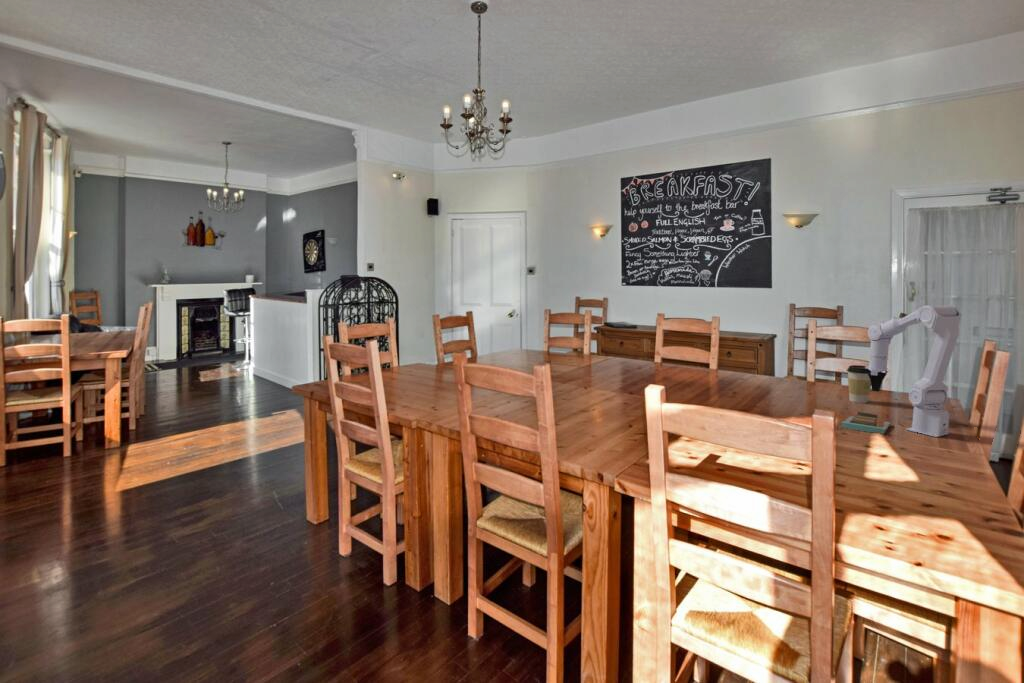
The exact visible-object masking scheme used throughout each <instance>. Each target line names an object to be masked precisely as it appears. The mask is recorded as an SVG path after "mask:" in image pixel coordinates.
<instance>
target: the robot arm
mask: <svg viewBox="0 0 1024 683" xmlns="http://www.w3.org/2000/svg"><path fill="white" fill-rule="evenodd" d="M962 316H963V315H962V314H961V312H960V310H959V309H958V307H957V306H955V305H953V304H947V305H927V304H926V305H923V306H922V307H919V308H917V310H915V311H913V312H912V313H910V314H907V315H906V316H904V317H897V316H894V317H893V316H892V317H890V320H889V319H888V320H887V321H883V322H881V324H879V325H877V324H872V325H871V326H870V327H869V328H868V330H867V337H868V338H869V339H870V349H869V361H868V362H869V363H868V366H867V365H865V366H866V367H865V368H866V369H869V370H870V371H871V372H868V376H869V378H870V381H871V390H872V392H880V390H881V387H882V384H883V381H884V379H885V377H886V376H887V371H888V358H889V346H890V344H891V342H892V339H893V338H894V337H895V336H898V335H899V334H902V333H904V332H906V331H907V330H908V327H910V326H913V325H916V324H919V323H922V324H923V325H924V326H925V327H926V328H928V329H929V330H930V331H931V332H932V333H933V334H935V337H934V338H935V339H934V341H933V345H932V348H931V350H930V354H929V358H928V360H927V363H926V367H925V370H924V373H923V376H922V378H921V379H919V380H917V381H916V382H915V383H914V385H913V387H912V388H911V389H910V391H909V393H908V400H909V402H910V403H911V405H912V406H913V411H912V412H913V414H912V424H911V427H907V428H905V430H906V431H908V430H909V432H913V433H917V432H918V434H921V433H922V435H926V436H931V437H935V438H939V437H943V436H945V435H949V434H950V432H949V425H950V412H949V411H947V410H944V409H942V408H943V407H944V406H943V405H946V403H947V402H948V398H949V397H948V395H949V394H948V390H949V387H948V385H946V384H945V383H944V380H945V376H946V374H947V372H948V371H947V370H948V368H949V365H950V361H951V359H952V356H953V353H954V349H955V346H956V345H957V340H958V338H959V334H960V333H959V332H960V330H959V325H960V322H961V319H962Z"/></svg>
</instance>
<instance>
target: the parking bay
mask: <svg viewBox="0 0 1024 683" xmlns="http://www.w3.org/2000/svg"><path fill="white" fill-rule="evenodd" d="M855 417H856V416H852V415H850V416H849V417H847V418H846V419H845V420H844V421H843V420H842V421H841V424H840V425H841V426H840V428H842V427H843V428H842V429H846V428H847V429H848V430H853V431H858V430H860V431H859V432H864V431H868V432H867V433H870V432H874V433H873V434H876V433H880V434H879V435H882V434H883V435H884V434H885V433H886V432H887V430H888V429H889V428H888V427H890V426H891V422H890V421H884V422H883V423H882V425H881V426H880V427H879V426H875V427H874V426H868V425H862V424H856V423H854V418H855ZM847 429H846V430H847ZM885 431H886V432H885Z"/></svg>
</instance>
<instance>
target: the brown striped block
mask: <svg viewBox="0 0 1024 683" xmlns="http://www.w3.org/2000/svg"><path fill="white" fill-rule="evenodd" d="M878 415H879V414H877V413H870V412H868V413H867V412H862V411H857V415H856V416H854V417H855V418H854V421H853V423H856V424H862V425H868V426H874V427H877V425H878Z"/></svg>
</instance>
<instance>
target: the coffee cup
mask: <svg viewBox="0 0 1024 683" xmlns="http://www.w3.org/2000/svg"><path fill="white" fill-rule="evenodd" d="M866 366H867V365H858V364H857V365H855V364H854V365H853V364H852V365H849V366H848V368H847V369H846V371H847V375H848V376H847V382H848V383H847V385H848V394H849V397H848V398H849V402H851V401H852V402H851V403H855V402H857V404H867V403H868V398H869V395H870V392H871V389H872V387H871V381H870V378H869V376H868V372H871V371H870V370H869V369H866V368H865V367H866ZM866 402H867V403H866Z"/></svg>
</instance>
